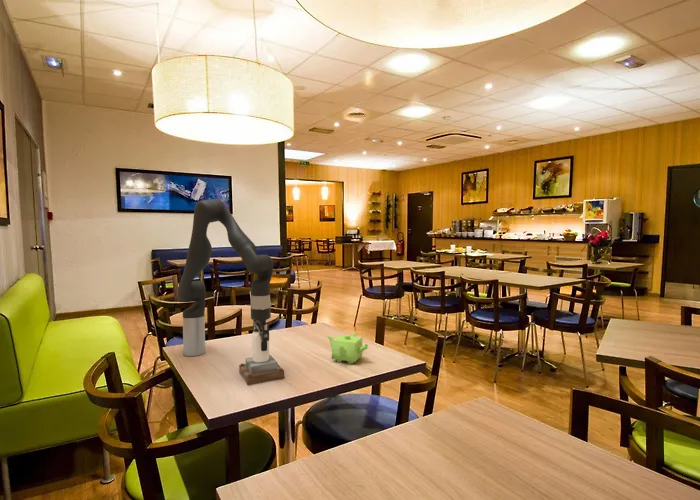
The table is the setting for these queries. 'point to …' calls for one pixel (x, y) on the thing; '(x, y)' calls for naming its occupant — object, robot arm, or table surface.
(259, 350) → the can
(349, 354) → the kettle
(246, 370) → the grey block on base
